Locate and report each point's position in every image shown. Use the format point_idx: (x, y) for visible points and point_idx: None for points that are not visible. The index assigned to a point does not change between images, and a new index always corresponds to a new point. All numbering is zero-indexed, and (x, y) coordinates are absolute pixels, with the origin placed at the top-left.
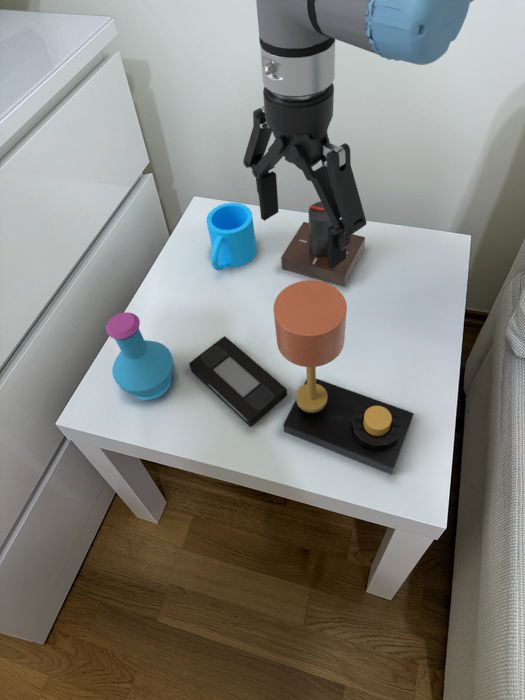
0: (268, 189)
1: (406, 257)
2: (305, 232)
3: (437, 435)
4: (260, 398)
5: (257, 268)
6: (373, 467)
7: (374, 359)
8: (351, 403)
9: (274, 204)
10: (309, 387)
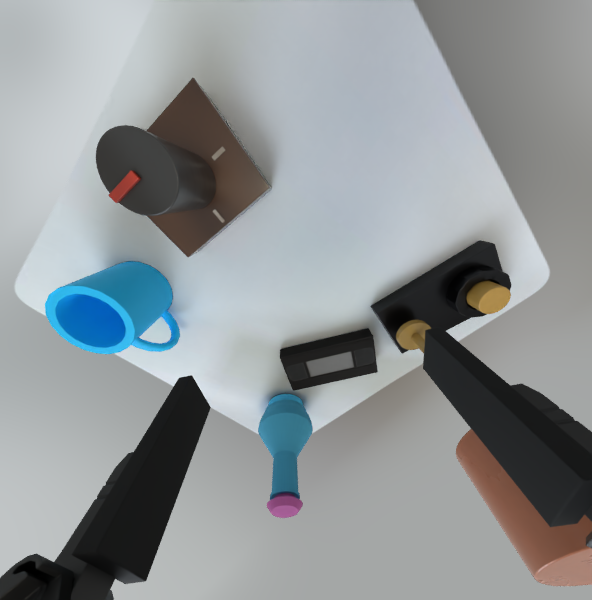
0: (157, 495)
1: (262, 14)
2: None
3: (512, 226)
4: (364, 356)
5: (184, 278)
6: None
7: (395, 227)
8: (433, 294)
9: (182, 410)
10: None
